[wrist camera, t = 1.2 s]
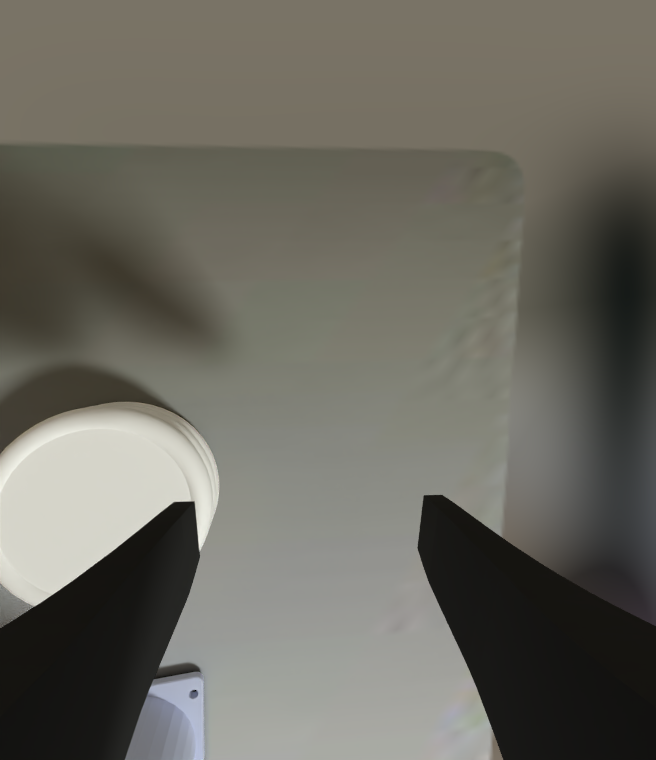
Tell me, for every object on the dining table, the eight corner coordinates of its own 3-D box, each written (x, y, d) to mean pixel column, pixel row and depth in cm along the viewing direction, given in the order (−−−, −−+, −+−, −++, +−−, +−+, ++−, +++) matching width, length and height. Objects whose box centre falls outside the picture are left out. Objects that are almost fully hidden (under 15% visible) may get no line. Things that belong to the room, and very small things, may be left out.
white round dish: (228, 555, 19) (220, 595, 16) (38, 592, 17) (-20, 648, 13) (212, 392, 19) (200, 397, 15) (15, 410, 17) (-50, 420, 13)
